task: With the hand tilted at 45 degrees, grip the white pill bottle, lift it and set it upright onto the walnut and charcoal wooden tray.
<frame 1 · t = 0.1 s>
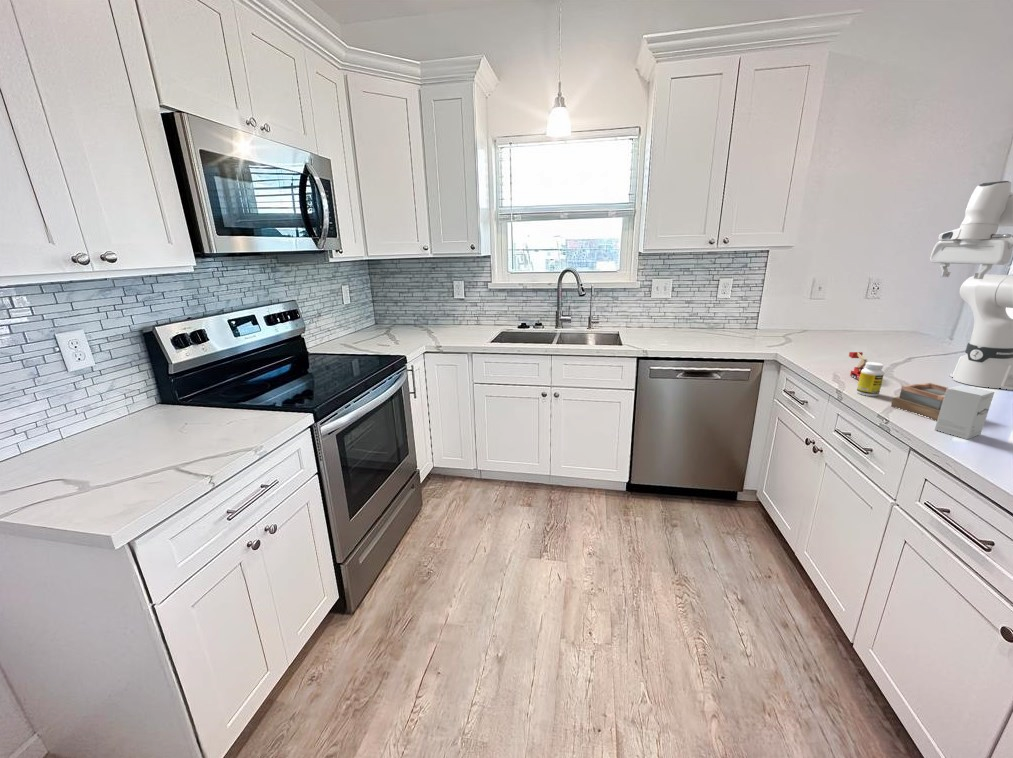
hand: (960, 278, 146), 39 cm above the countertop, tool pointing down, fingers open, 8 cm apart
supplement box: (957, 433, 122), on the countertop
toy fire truck: (858, 379, 170), on the countertop
wooden tray: (929, 411, 137), on the countertop
pill bottle: (867, 394, 153), on the countertop
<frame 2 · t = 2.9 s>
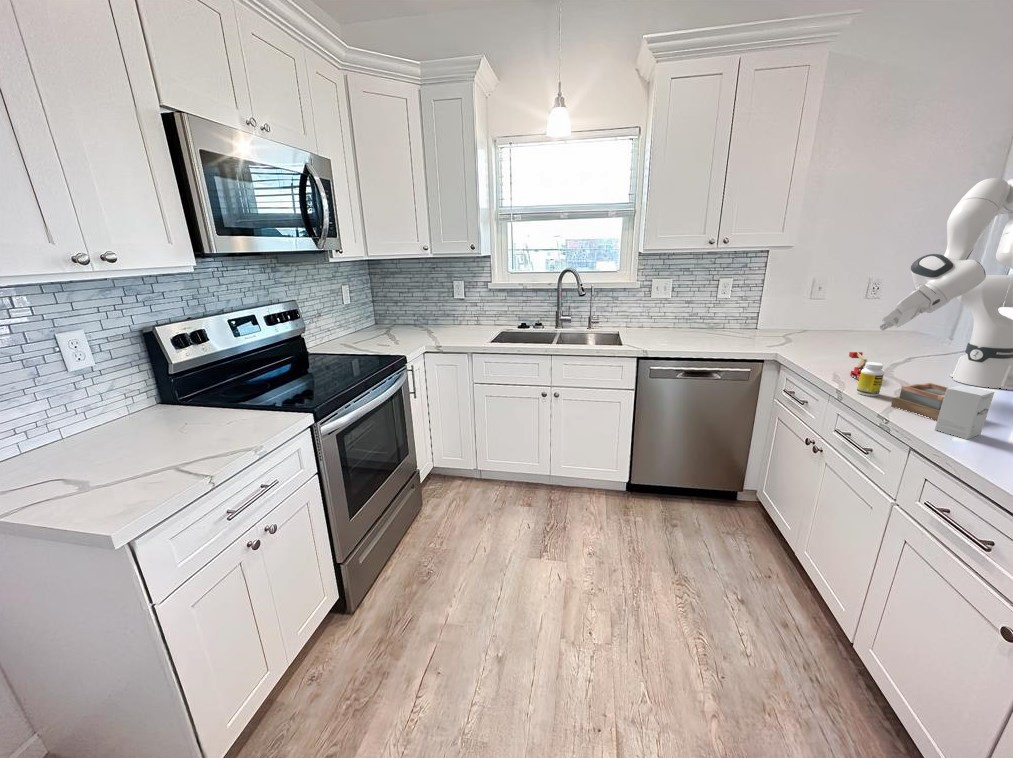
hand: (882, 325, 152), 23 cm above the countertop, tool tilted 50°, fingers open, 8 cm apart
nothing on the countertop moved.
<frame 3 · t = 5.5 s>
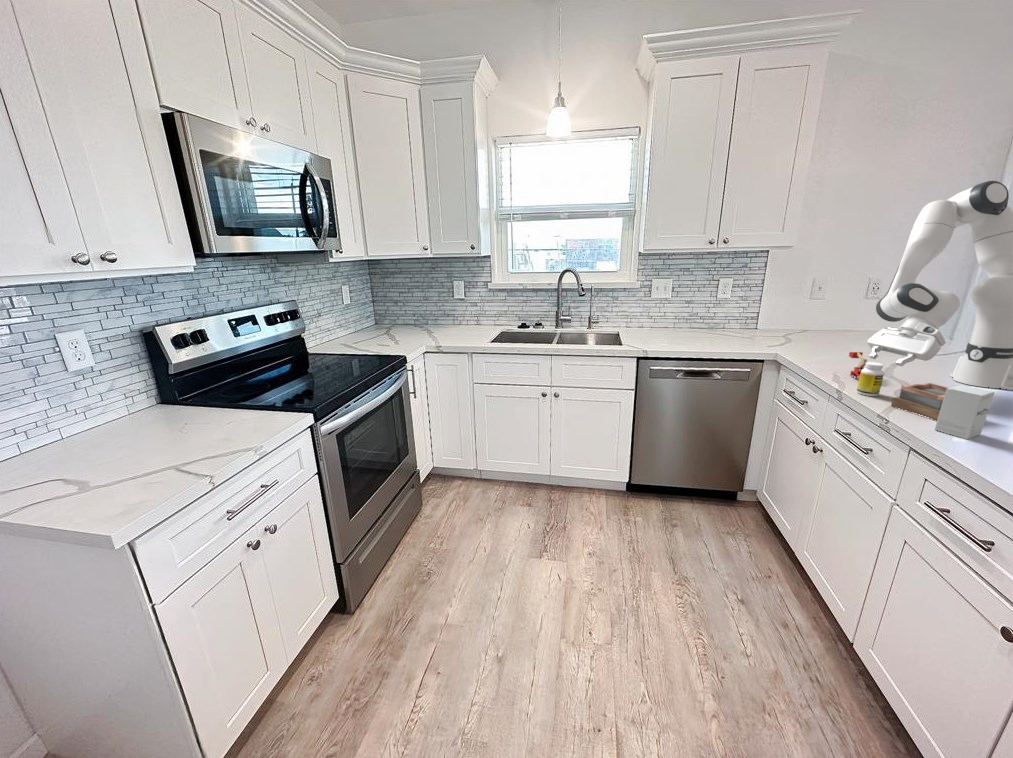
hand: (884, 361, 153), 11 cm above the countertop, tool tilted 45°, fingers open, 8 cm apart
nothing on the countertop moved.
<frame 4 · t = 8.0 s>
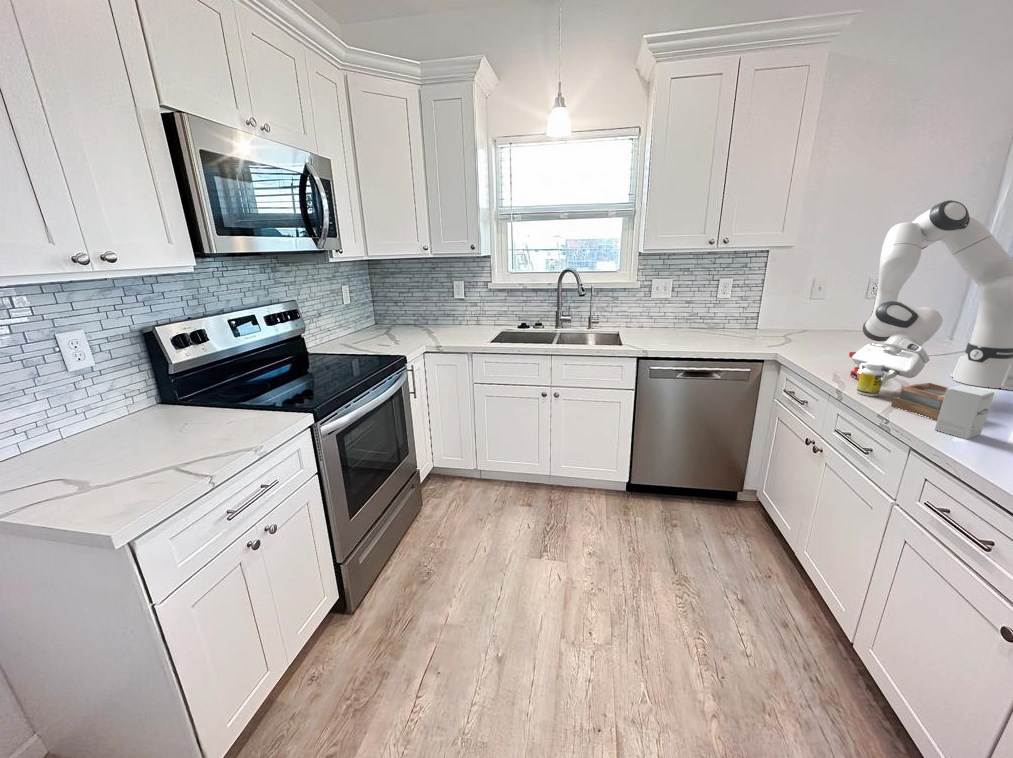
hand: (869, 378, 152), 6 cm above the countertop, tool tilted 45°, fingers closed on pill bottle, 6 cm apart
pill bottle: (867, 394, 153), on the countertop, touching gripper
everything else where it was.
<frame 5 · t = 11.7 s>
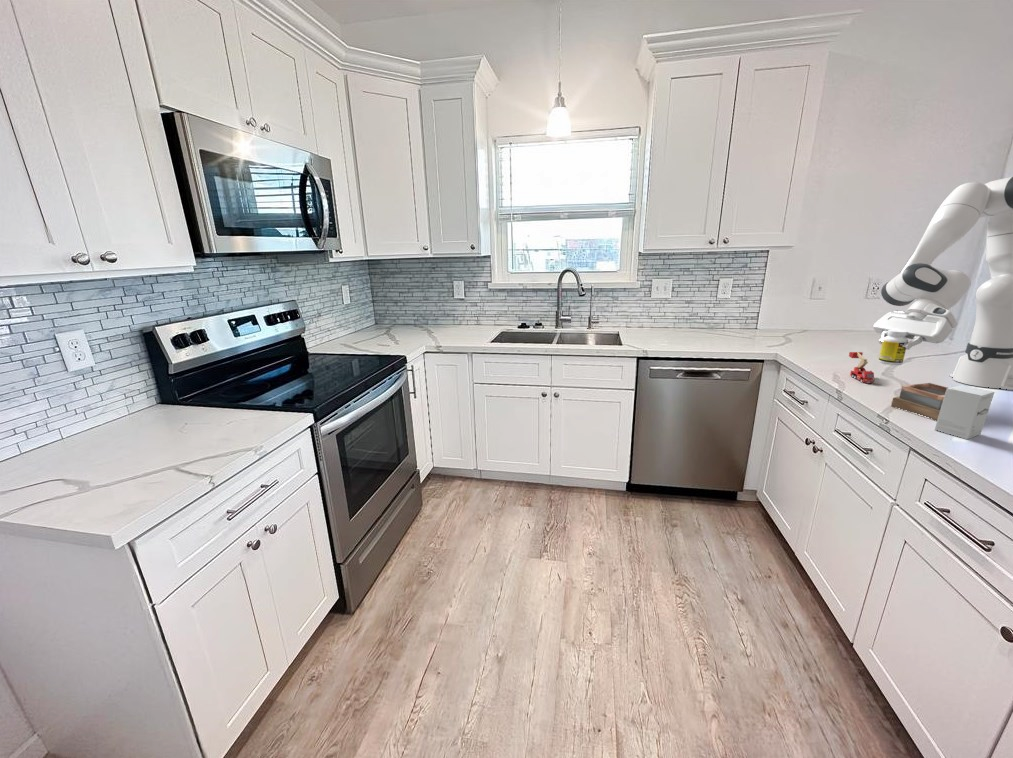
hand: (892, 345, 144), 18 cm above the countertop, tool tilted 45°, fingers closed on pill bottle, 6 cm apart
pill bottle: (889, 364, 146), point 12 cm above the countertop, touching gripper
everything else where it was.
when the fingers open (14 cm above the countertop, at t = 15.6 s): pill bottle drops 2 cm, resting on wooden tray.
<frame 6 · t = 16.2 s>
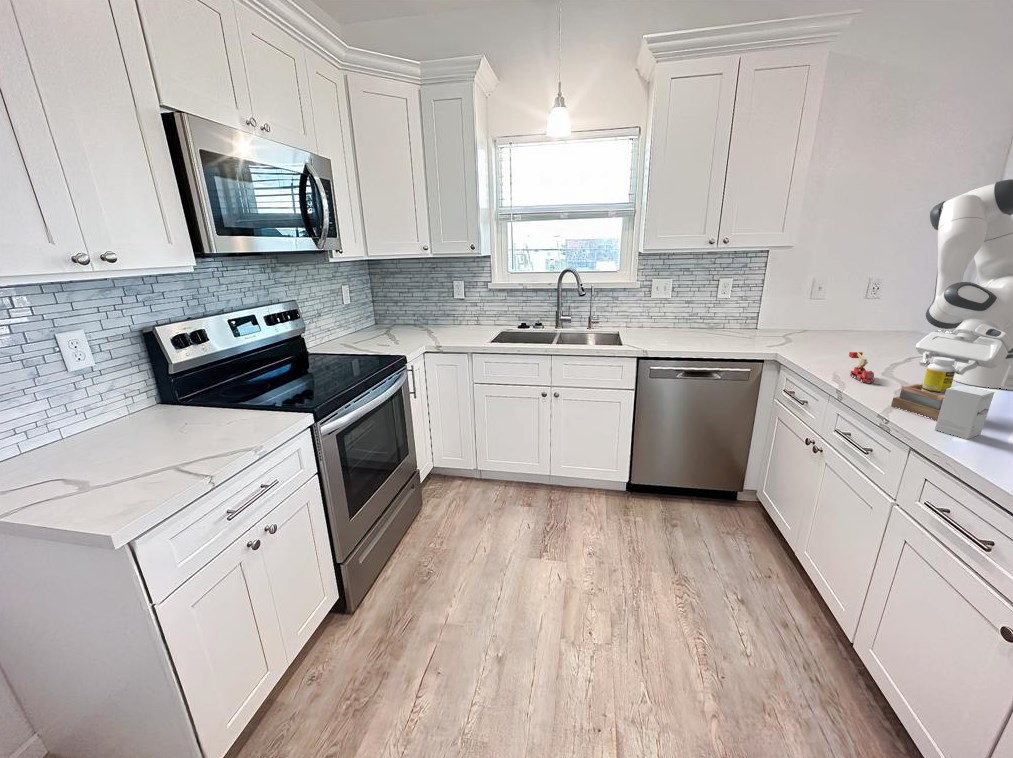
hand: (939, 368, 133), 14 cm above the countertop, tool tilted 45°, fingers open, 8 cm apart
pill bottle: (934, 393, 135), point 6 cm above the countertop, touching wooden tray
everything else where it was.
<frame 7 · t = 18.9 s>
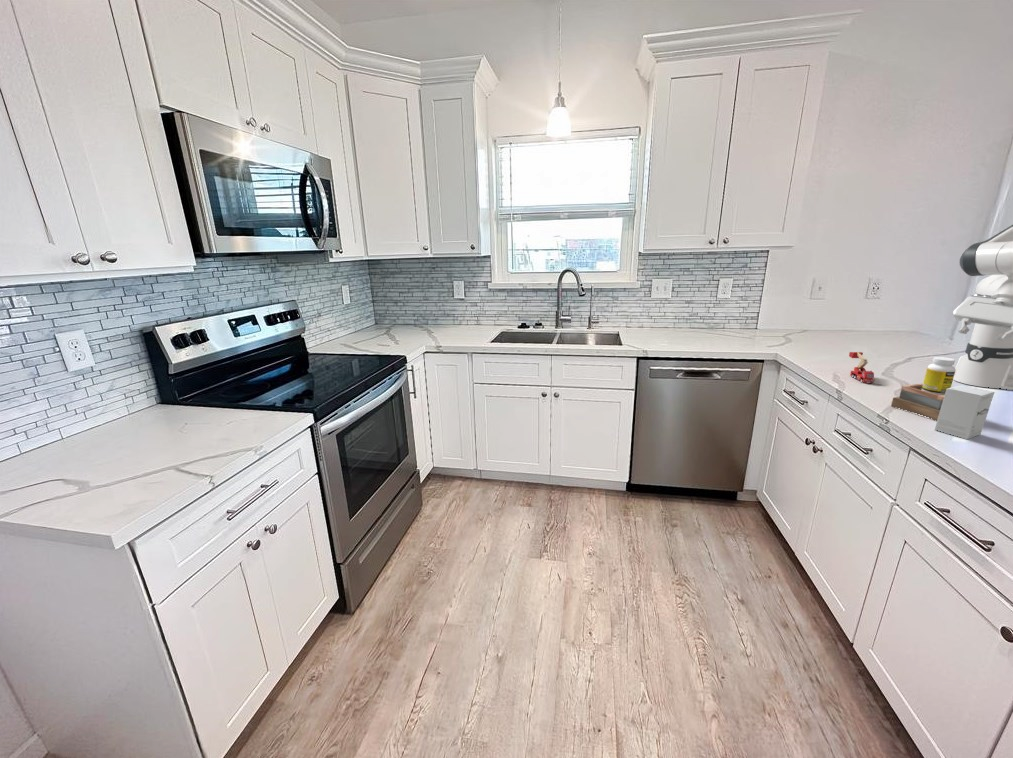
hand: (980, 336, 132), 23 cm above the countertop, tool tilted 40°, fingers open, 8 cm apart
nothing on the countertop moved.
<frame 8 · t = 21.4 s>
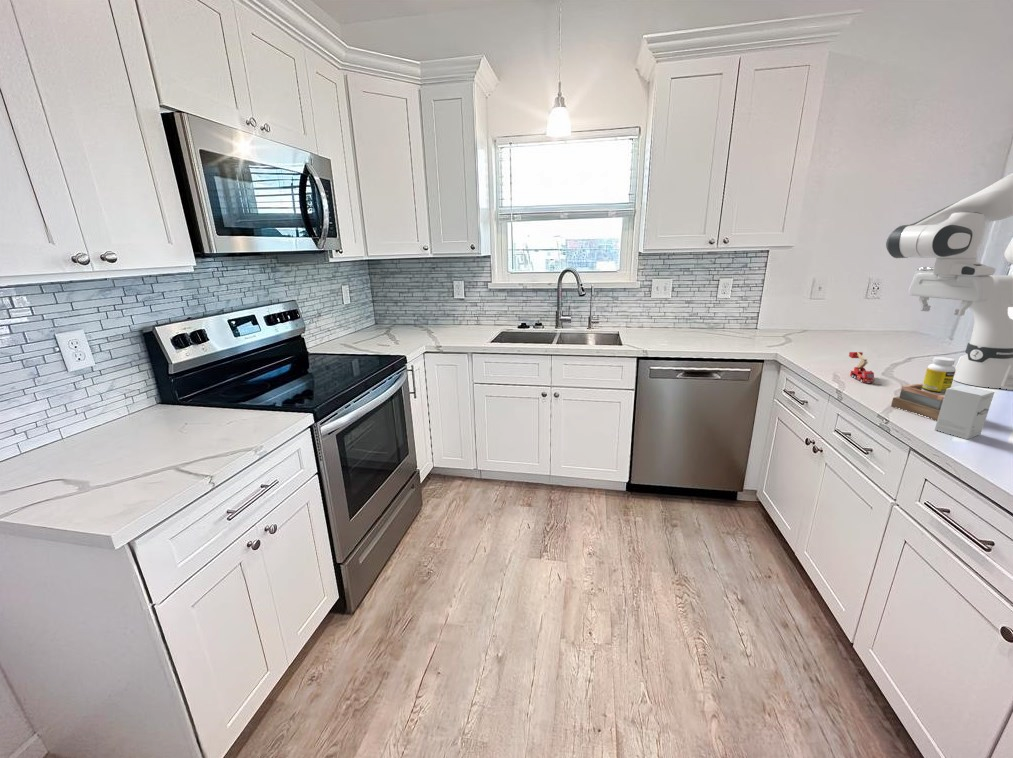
hand: (941, 313, 138), 29 cm above the countertop, tool pointing down, fingers open, 8 cm apart
nothing on the countertop moved.
at the end: pill bottle 0.1 cm off-centre on the wooden tray, point 5.8 cm above the wooden tray's base; pill bottle tilted 0°; the gripper is holding nothing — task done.
